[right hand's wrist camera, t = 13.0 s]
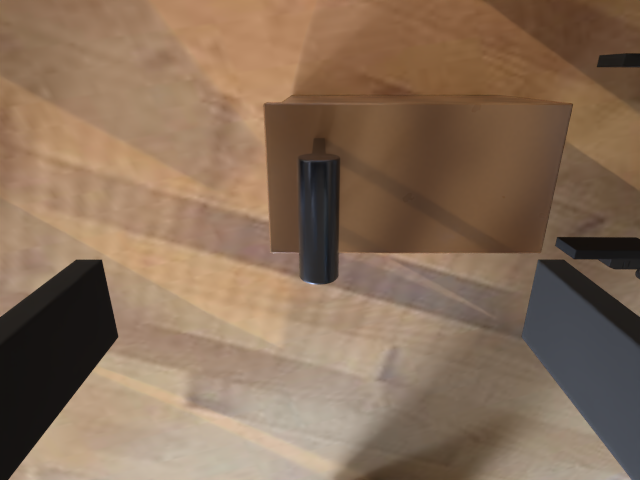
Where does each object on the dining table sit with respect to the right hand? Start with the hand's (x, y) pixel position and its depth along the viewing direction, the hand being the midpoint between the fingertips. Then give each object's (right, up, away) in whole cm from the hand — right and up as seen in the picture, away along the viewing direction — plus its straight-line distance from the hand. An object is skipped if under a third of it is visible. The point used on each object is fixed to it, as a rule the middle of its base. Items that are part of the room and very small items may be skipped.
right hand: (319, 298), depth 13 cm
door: (+6, +6, +15) cm, 17 cm away
